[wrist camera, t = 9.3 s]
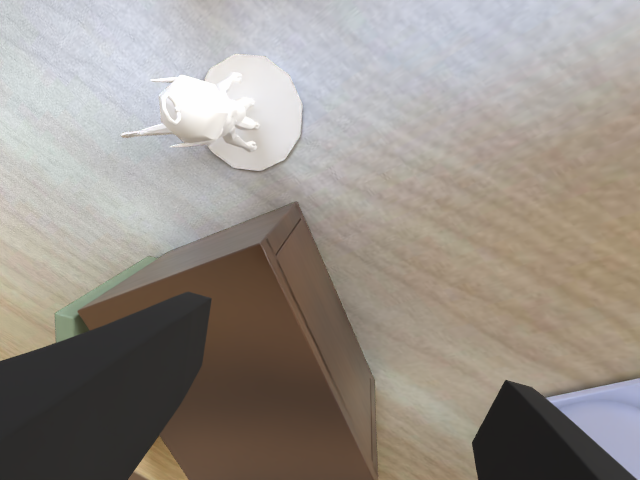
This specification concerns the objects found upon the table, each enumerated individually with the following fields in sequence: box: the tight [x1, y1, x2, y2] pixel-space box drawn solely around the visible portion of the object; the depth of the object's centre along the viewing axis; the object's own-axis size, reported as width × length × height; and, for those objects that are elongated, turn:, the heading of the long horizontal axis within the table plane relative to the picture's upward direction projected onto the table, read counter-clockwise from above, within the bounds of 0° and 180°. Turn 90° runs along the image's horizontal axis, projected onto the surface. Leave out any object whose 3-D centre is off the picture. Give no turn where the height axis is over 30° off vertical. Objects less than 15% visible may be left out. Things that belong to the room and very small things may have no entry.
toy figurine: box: [121, 54, 303, 171], centre depth 13 cm, size 5×8×7 cm, turn 100°
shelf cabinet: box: [77, 202, 378, 480], centre depth 17 cm, size 12×8×6 cm
